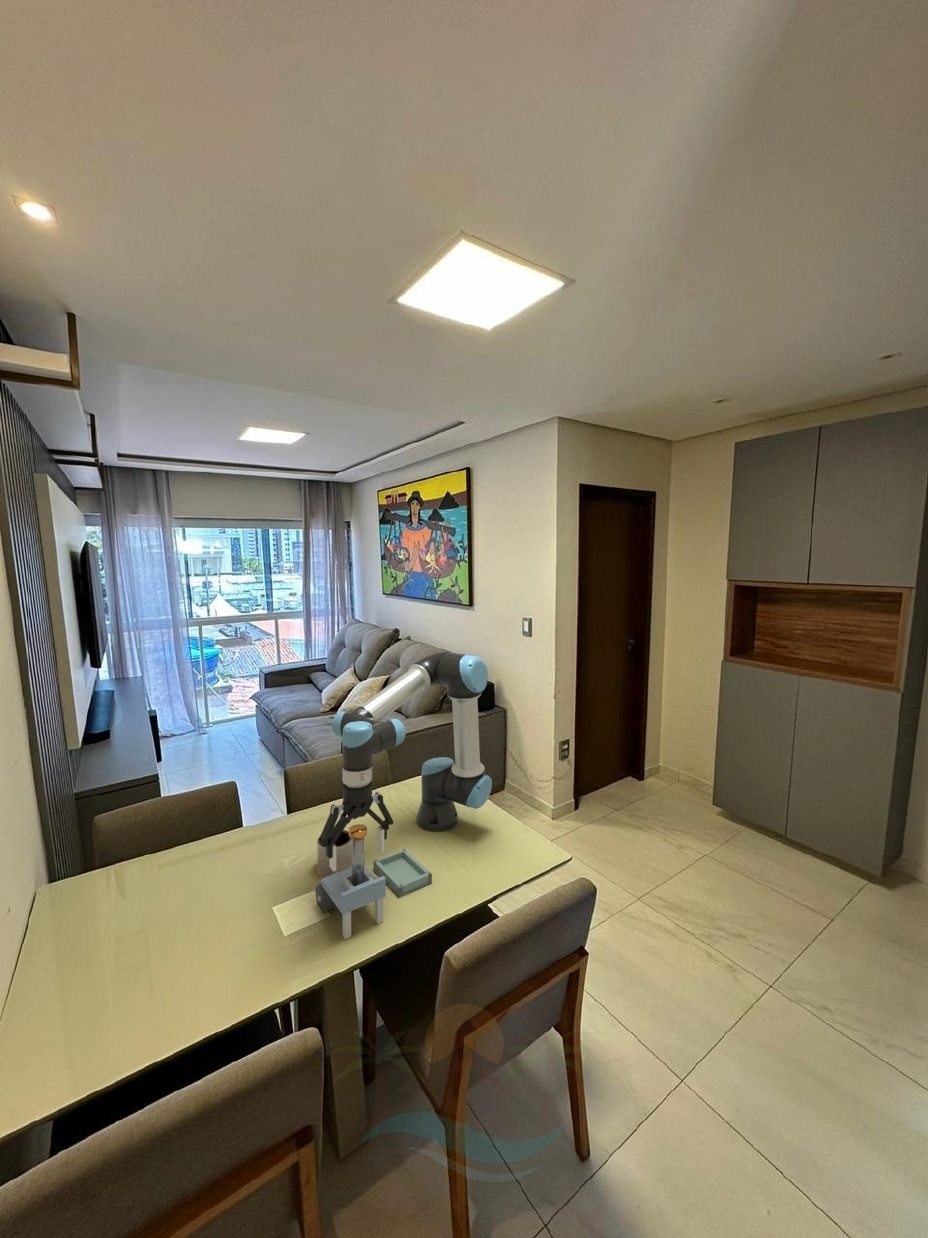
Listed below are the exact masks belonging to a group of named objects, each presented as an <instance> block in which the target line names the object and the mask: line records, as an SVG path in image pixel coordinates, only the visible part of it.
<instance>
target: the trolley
mask: <svg viewBox="0 0 928 1238" xmlns="http://www.w3.org/2000/svg"><path fill="white" fill-rule="evenodd" d="M386 887H387V884H386V878H385V877H384V876H382V877H380V876H379V877H377V878H376V876H375V875H374V874H373V873H372V872H371V871H370V870H369V869H368V867H366V865H364V883H362V884H360V885H357V886H355V887H354V886H353V885H352V867H351V868H349V869H346V870H343V871H341V872H338V873H335V874H333V875H330V876H324V877H322V878H321V882H320V883H318V884H316V886H315V890H314V891H315V892H314V893H315V900H316V903H317V907H318V909H319V911H320V912H321V913H325V912H327V911H330V910H333V909H335V908H337V909H338V911H339V912H340V914H341V915H342V936H343V938H344V940H346V939H348V938H351V937H352V911H355V910H357V909H360V908H362V907H364V906H366V905H367V906H368V905H369V904H371V903H374V922H375V923H376V924H377V925H378V924H381V923H383V922H384V898H385V897H386V896H387V893H386V892H387V888H386Z"/></svg>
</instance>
